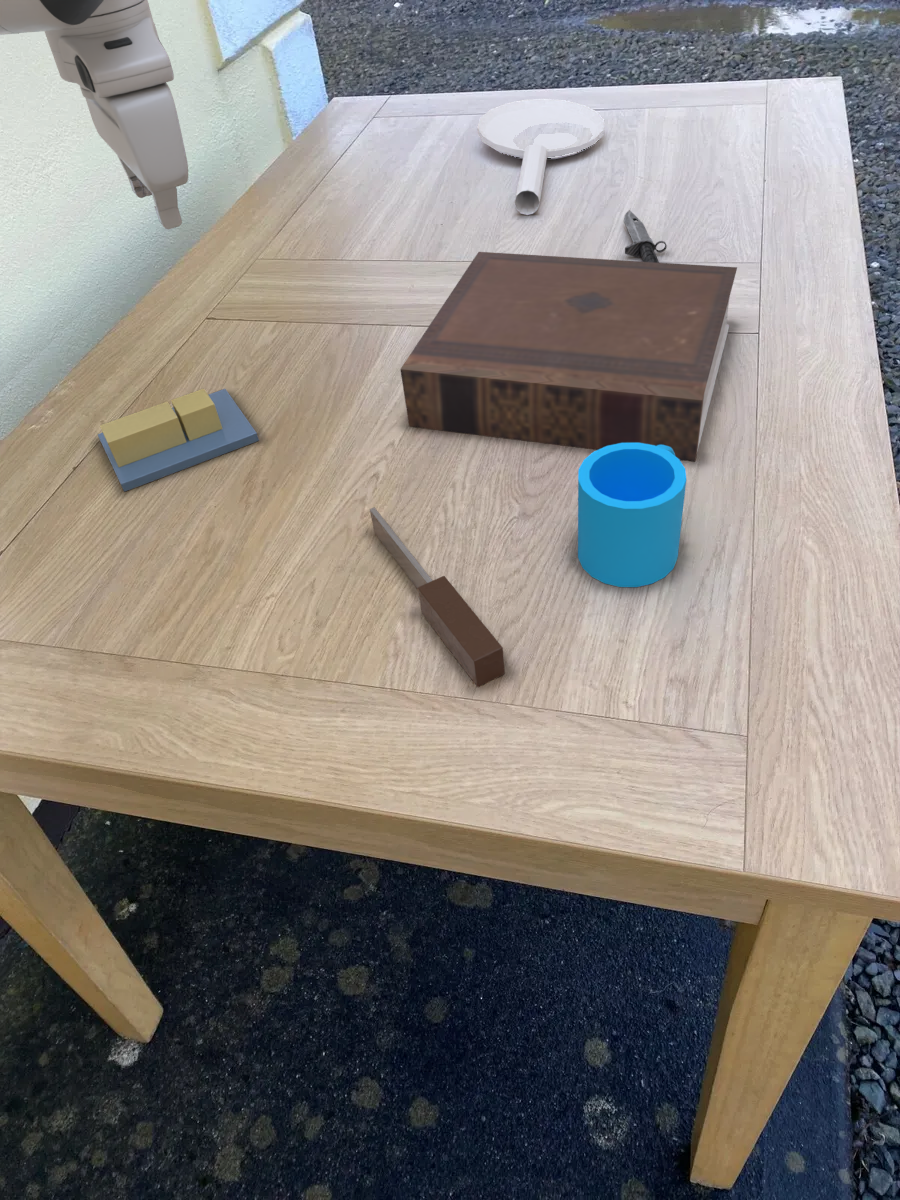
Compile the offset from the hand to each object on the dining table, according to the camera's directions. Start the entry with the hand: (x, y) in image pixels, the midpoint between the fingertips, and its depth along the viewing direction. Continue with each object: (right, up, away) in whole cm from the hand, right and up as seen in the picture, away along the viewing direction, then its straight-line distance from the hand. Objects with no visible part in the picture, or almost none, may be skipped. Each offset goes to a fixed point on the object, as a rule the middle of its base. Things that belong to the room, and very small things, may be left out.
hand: (157, 209), depth 87 cm
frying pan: (+41, +27, +47) cm, 68 cm away
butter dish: (0, -21, +6) cm, 22 cm away
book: (+41, -14, +8) cm, 44 cm away
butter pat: (+3, -20, +6) cm, 21 cm away
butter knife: (+26, -37, -13) cm, 47 cm away
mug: (+44, -32, -10) cm, 55 cm away
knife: (+52, +6, +25) cm, 58 cm away
